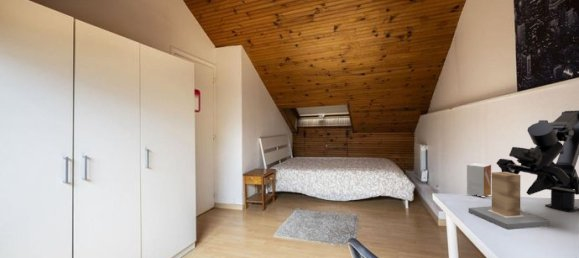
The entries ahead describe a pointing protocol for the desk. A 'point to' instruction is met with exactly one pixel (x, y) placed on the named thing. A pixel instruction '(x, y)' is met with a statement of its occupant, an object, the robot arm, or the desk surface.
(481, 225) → the desk surface
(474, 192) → the small box
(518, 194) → the oak block
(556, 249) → the desk surface
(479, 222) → the desk surface
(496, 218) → the baseplate
